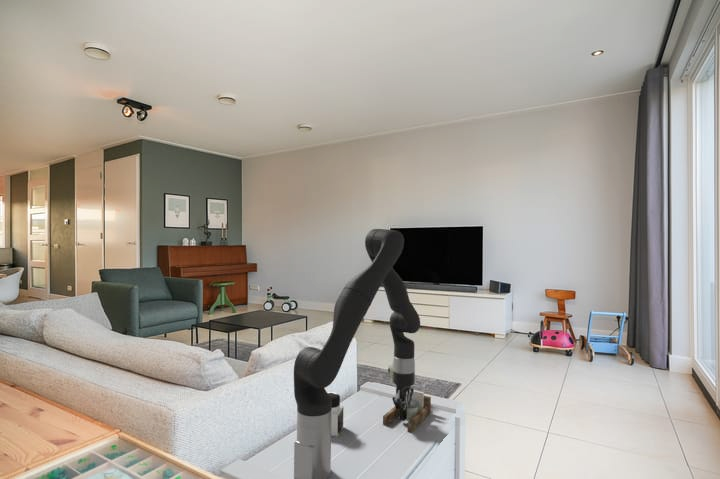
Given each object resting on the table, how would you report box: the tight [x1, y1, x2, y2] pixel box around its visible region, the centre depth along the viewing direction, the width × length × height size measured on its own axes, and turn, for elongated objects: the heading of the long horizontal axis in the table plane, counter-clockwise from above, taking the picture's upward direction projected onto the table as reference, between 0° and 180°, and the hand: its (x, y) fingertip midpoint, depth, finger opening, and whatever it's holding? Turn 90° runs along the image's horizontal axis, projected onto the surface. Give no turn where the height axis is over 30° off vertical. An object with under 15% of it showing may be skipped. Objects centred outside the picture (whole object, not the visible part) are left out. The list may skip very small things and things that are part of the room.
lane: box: [382, 395, 432, 434], centre depth 138 cm, size 18×11×6 cm, turn 149°
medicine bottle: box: [327, 391, 344, 438], centre depth 129 cm, size 7×7×12 cm
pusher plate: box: [411, 390, 425, 413], centre depth 146 cm, size 7×7×8 cm
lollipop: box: [387, 361, 397, 389], centre depth 156 cm, size 7×7×15 cm
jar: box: [405, 400, 418, 422], centre depth 140 cm, size 6×6×5 cm
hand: (402, 419), depth 135 cm, fingers closed
